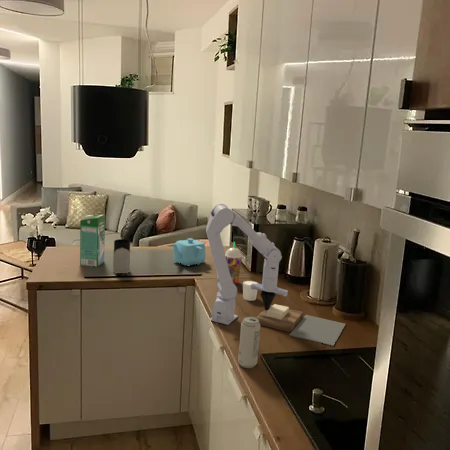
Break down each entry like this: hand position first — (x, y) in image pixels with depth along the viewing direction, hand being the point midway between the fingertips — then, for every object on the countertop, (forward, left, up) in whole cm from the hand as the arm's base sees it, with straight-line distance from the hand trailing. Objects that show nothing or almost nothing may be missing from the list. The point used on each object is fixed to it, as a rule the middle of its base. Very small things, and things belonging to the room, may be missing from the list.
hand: (267, 309), depth 189 cm
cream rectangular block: (0, -4, -1) cm, 4 cm away
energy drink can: (-39, -8, -3) cm, 40 cm away
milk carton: (+15, +99, -3) cm, 100 cm away
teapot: (+44, +61, -3) cm, 75 cm away
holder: (+16, +82, -3) cm, 83 cm away
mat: (0, -21, -3) cm, 21 cm away
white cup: (+16, +14, -3) cm, 21 cm away
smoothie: (+30, +29, -3) cm, 42 cm away
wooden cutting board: (0, -5, -3) cm, 6 cm away
